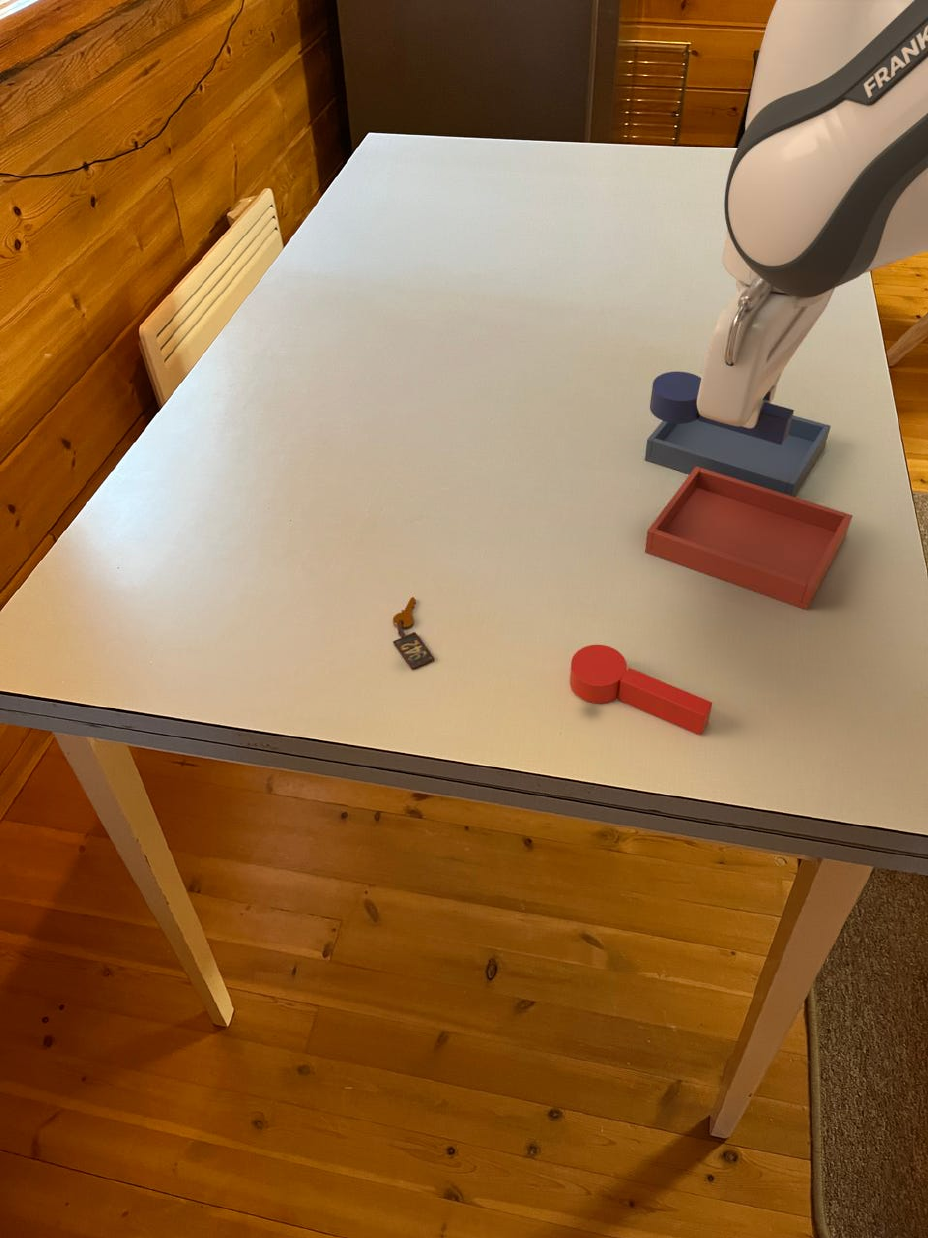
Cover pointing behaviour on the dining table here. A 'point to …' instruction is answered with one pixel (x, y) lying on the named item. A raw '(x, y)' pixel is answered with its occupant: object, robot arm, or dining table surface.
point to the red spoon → (634, 688)
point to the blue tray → (740, 452)
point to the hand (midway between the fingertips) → (752, 412)
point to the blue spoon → (679, 406)
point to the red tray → (749, 536)
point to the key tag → (410, 639)
